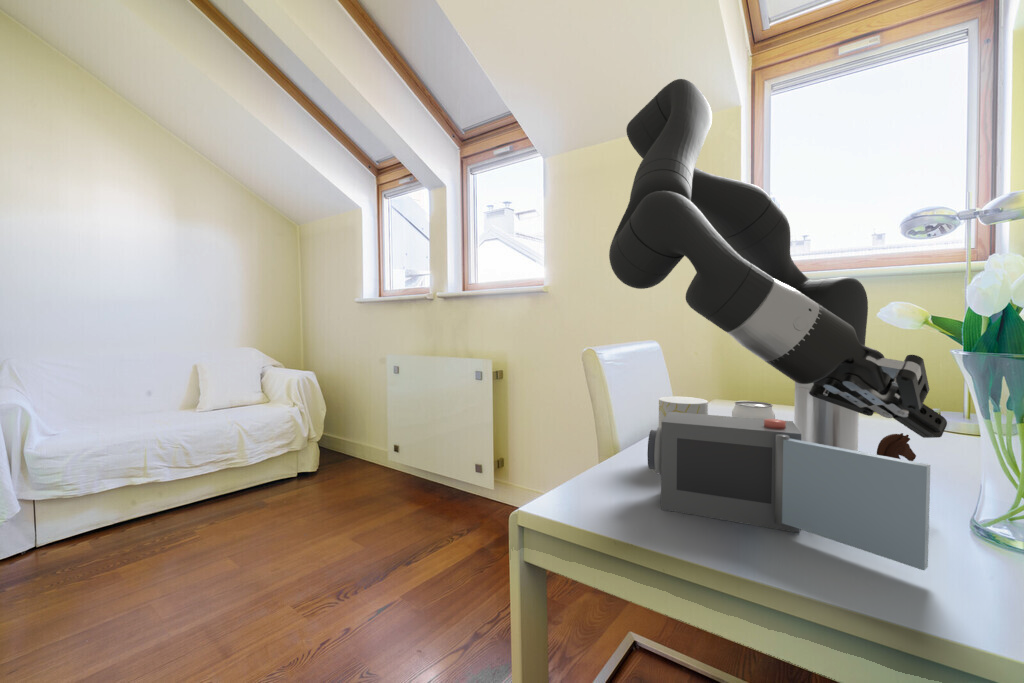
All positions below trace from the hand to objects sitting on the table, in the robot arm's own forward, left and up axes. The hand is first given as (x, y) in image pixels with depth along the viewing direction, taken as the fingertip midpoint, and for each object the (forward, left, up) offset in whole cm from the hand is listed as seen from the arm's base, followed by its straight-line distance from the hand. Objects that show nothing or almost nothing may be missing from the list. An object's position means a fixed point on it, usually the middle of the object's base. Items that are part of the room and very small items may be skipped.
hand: (936, 430), depth 44 cm
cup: (-30, -21, -15) cm, 39 cm away
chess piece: (-20, +6, -15) cm, 25 cm away
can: (-29, -10, -15) cm, 34 cm away
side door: (-2, -7, -13) cm, 15 cm away
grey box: (-12, -17, -14) cm, 25 cm away
